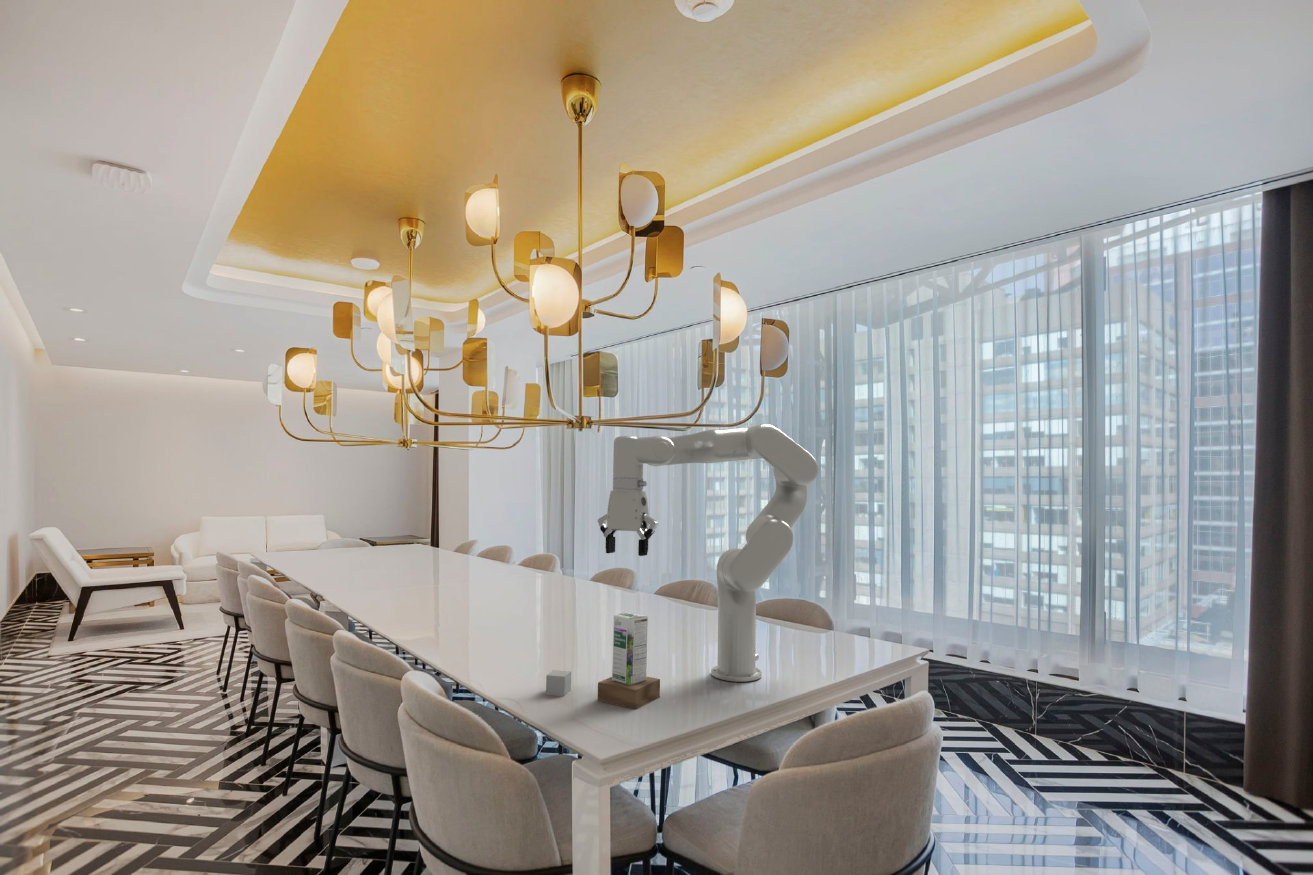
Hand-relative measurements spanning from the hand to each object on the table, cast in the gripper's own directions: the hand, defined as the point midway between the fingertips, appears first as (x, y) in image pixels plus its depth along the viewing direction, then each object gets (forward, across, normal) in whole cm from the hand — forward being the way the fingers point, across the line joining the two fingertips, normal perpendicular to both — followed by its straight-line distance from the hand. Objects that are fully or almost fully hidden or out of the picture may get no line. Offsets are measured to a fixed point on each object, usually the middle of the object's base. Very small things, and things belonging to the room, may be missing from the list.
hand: (626, 554), depth 172 cm
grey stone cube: (+30, +6, +18) cm, 36 cm away
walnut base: (+30, -10, +13) cm, 34 cm away
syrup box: (+26, -10, +13) cm, 31 cm away
